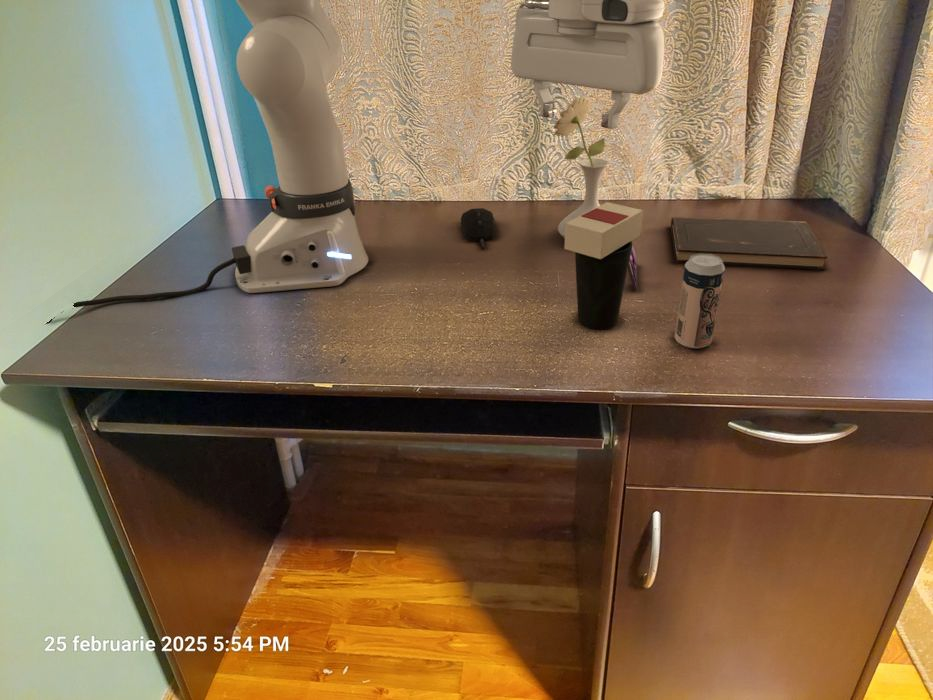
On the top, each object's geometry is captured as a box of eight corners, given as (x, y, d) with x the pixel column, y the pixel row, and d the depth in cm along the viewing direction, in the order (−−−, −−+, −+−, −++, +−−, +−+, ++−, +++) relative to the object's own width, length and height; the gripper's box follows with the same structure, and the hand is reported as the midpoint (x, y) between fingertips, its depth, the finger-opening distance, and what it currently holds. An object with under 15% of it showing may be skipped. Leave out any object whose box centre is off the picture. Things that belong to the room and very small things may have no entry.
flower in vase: (600, 222, 128) (610, 84, 114) (633, 243, 118) (647, 96, 105) (538, 233, 124) (541, 92, 111) (567, 256, 115) (574, 105, 102)
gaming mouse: (465, 250, 119) (464, 229, 117) (460, 220, 131) (459, 201, 129) (500, 247, 119) (500, 226, 117) (491, 218, 132) (491, 199, 130)
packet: (600, 259, 84) (602, 232, 82) (564, 249, 88) (565, 222, 86) (640, 235, 91) (643, 209, 89) (605, 226, 94) (607, 201, 92)
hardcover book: (824, 269, 107) (827, 256, 105) (675, 262, 111) (677, 249, 110) (802, 232, 120) (805, 220, 119) (670, 227, 124) (672, 215, 123)
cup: (591, 338, 91) (597, 258, 85) (560, 315, 97) (563, 238, 91) (636, 324, 94) (644, 245, 88) (602, 303, 100) (608, 227, 94)
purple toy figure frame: (630, 250, 99) (630, 228, 107) (596, 259, 101) (598, 237, 109) (641, 289, 102) (640, 265, 110) (608, 297, 104) (609, 273, 112)
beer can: (705, 354, 87) (720, 270, 80) (669, 345, 89) (681, 263, 83) (715, 337, 90) (730, 256, 84) (680, 329, 92) (692, 249, 86)
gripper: (501, -1, 82) (500, 114, 90) (649, 7, 70) (634, 139, 78) (532, -5, 86) (528, 106, 93) (678, 2, 74) (660, 129, 82)
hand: (577, 122), depth 85 cm, fingers open, 8 cm apart
